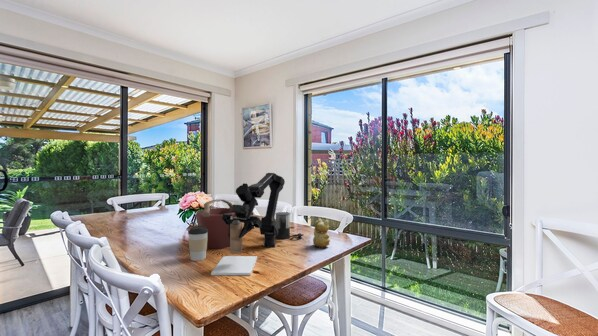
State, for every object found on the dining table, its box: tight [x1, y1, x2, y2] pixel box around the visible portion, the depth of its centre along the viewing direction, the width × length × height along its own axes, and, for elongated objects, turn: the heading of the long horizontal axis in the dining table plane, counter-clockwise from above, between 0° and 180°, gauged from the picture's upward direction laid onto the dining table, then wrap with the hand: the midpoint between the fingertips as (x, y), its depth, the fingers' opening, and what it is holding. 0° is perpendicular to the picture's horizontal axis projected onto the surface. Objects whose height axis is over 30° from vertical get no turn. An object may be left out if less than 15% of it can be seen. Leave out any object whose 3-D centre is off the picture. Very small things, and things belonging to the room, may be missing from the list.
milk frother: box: [275, 211, 305, 240], centre depth 170 cm, size 14×16×15 cm
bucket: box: [195, 198, 237, 250], centre depth 155 cm, size 24×22×25 cm
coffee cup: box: [187, 225, 208, 262], centre depth 133 cm, size 9×9×15 cm
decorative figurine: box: [312, 218, 331, 249], centre depth 152 cm, size 10×8×15 cm
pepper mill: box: [229, 220, 243, 255], centre depth 123 cm, size 5×5×14 cm
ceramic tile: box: [210, 255, 258, 276], centre depth 124 cm, size 20×16×1 cm
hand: (234, 237), depth 122 cm, fingers closed on pepper mill, 5 cm apart
